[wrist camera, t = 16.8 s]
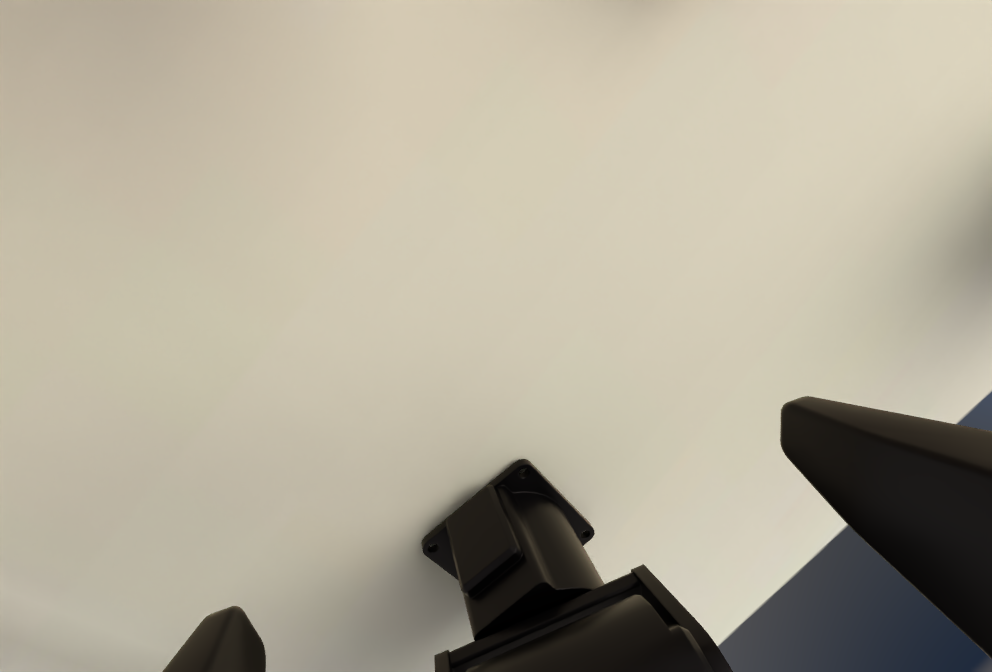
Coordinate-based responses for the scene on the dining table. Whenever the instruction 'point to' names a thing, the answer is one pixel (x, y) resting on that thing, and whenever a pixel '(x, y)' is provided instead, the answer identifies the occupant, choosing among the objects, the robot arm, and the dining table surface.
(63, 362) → the dining table surface
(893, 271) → the dining table surface
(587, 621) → the robot arm
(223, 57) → the dining table surface
